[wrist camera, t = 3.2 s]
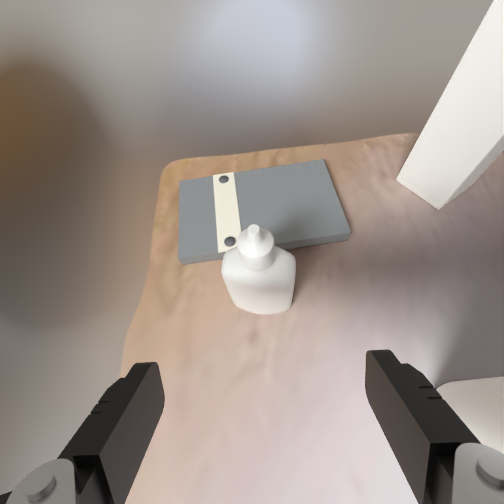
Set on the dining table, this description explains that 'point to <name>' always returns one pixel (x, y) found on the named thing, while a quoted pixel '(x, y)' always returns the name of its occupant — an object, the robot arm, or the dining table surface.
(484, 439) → the cylindrical container
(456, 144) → the milk
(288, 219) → the floor panel
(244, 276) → the eye dropper bottle
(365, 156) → the dining table surface
